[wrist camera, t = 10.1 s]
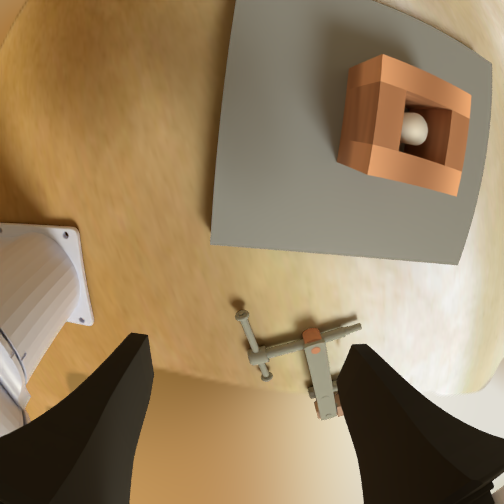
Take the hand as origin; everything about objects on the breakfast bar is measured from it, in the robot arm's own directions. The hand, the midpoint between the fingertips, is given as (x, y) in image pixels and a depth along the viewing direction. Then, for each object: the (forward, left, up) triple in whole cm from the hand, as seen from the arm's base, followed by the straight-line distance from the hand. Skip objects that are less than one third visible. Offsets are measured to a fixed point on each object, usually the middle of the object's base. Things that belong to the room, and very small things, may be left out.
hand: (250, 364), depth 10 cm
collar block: (+7, +9, -8) cm, 14 cm away
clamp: (+7, -10, -10) cm, 16 cm away
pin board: (+7, +9, -9) cm, 15 cm away
